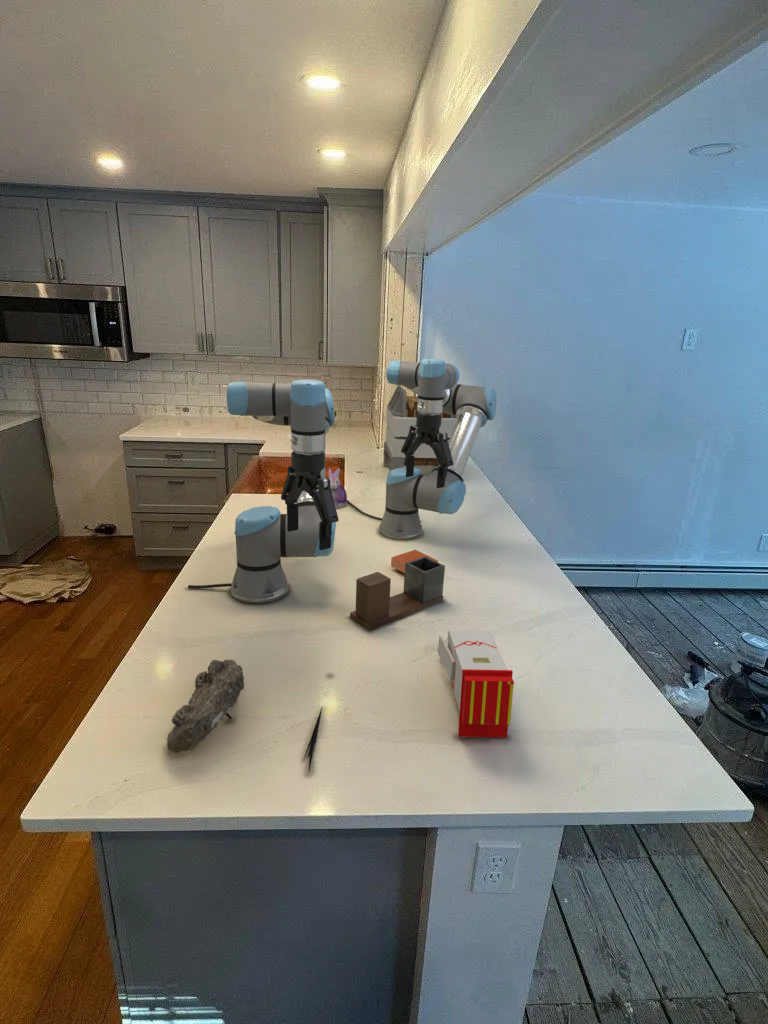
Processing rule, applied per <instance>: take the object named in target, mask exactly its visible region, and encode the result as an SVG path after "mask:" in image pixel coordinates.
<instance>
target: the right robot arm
mask: <svg viewBox="0 0 768 1024" xmlns="http://www.w3.org/2000/svg"><path fill="white" fill-rule="evenodd" d="M385 376H386V377H385V378H386V380H387V383H389V384H391V385H395V386H398V385H400V386H401V387H404V388H406V389H408V390H409V391H411V392H413V393H414V394H416V395H417V396H418V403H417V411H418V412H419V413H417V417H416V425H414V426H410V429H409V434H408V436H407V438H406V440H405V443H404V445H403V447H402V449H401V452H402V453H404V454H405V456H406V462H405V464H406V465H405V466H406V467H405V466H404V468H397V469H393V470H391V471H390V470H389V471H388V473H387V475H386V480H385V481H386V482H385V504H384V505H385V507H384V508H385V509H384V513H383V515H382V517H378V516H375V515H372V514H369V513H367V512H364V511H363V510H361V509H359V507H357V506H356V505H354V504H353V503H352V502H351V501H349V500H348V499H347V501H346V504H348V505H350V506H351V507H352V508H353V509H355V510H356V511H358V512H359V513H360V514H362V515H364V516H365V517H366V516H367V517H368V518H372V519H375V520H379V521H381V522H379V526H378V533H379V534H380V535H381V536H382V537H385V538H387V539H389V540H395V541H410V540H415V539H418V538H420V537H421V536H422V535H423V525H422V520H421V518H420V515H419V510H423V511H428V512H434V513H437V514H438V513H439V514H441V515H442V514H444V515H445V514H446V515H453V514H456V513H457V512H458V511H459V510H460V508H461V507H462V505H463V503H464V500H465V496H466V493H467V485H466V483H465V480H464V477H463V476H462V475H463V473H464V471H465V468H466V466H467V463H468V460H469V458H470V455H471V453H472V450H473V446H474V445H475V442H476V439H477V437H478V434H479V431H480V429H482V428H483V427H485V426H486V424H487V422H488V421H494V419H495V418H496V412H497V392H496V390H495V388H493V387H489V386H486V385H483V386H479V385H478V386H477V385H469V384H461V383H459V380H460V371H459V369H458V367H456V365H454V364H453V363H446V361H445V360H444V359H437V358H423V359H421V361H410V360H409V361H408V360H401V359H400V360H399V359H398V360H391V361H390V362H389V363H388V364H387V367H386V373H385ZM442 412H444V413H446V414H450V415H455V416H456V417H457V419H458V420H457V422H456V425H455V427H454V430H453V432H452V434H451V437H450V439H449V442H448V435H447V433H440V432H439V428H440V427H441V421H442V415H441V414H440V413H442ZM417 434H418V436H417V437H416V435H417ZM415 437H416V438H415ZM414 439H415V441H414ZM435 442H436V443H435ZM421 444H426V445H430V447H431V448H432V449H433V451H434V453H435V455H436V458H437V460H438V462H439V466H438V467H437V466H435V467H434V468H433V469H432V470H431V472H430V474H429V475H427V474H422V470H421V468H419V467H416V466H414V460H415V456H412V455H414V453H415V451H416V450H417V449H418V448H419V446H420V445H421Z"/></svg>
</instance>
